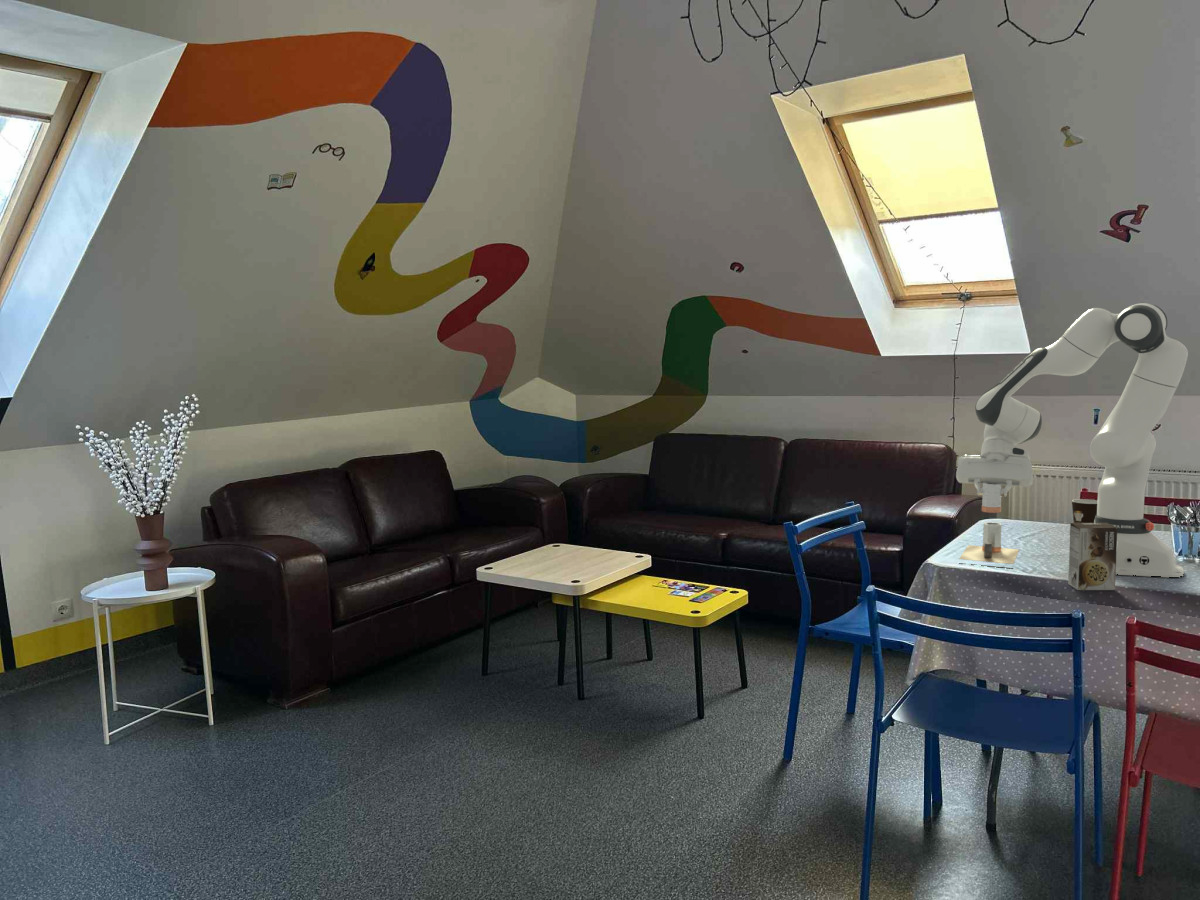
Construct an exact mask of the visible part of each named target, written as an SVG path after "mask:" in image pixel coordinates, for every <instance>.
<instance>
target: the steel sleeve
mask: <svg viewBox="0 0 1200 900" xmlns="http://www.w3.org/2000/svg"><path fill="white" fill-rule="evenodd" d="M982 487H983V495H981V496H982V501H981V504H982V505H981V512H983V513H992V514H995V513H996V514H997V513H1001V512H1002V496H1001V495H1000V492H1001V488H1002V487H1003V485H1002V483H997V482H984V483H983V484H982Z"/></svg>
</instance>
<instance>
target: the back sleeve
mask: <svg viewBox="0 0 1200 900" xmlns="http://www.w3.org/2000/svg"><path fill="white" fill-rule="evenodd" d="M982 532H983V534H982V545H981V546H982V551H984V543H991V544H992V552H993V553H996V552H1001V548H1002V523H1000V522H992V521H991V522H990V521H987V522H983V531H982Z"/></svg>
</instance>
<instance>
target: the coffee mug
mask: <svg viewBox="0 0 1200 900" xmlns="http://www.w3.org/2000/svg"><path fill="white" fill-rule="evenodd" d="M1097 501H1098V500H1095V499H1085V498H1084V499H1083V498H1080V499H1078V498H1077V499H1072V500H1071V507H1072V519H1073V523H1094V519H1095V515H1097Z"/></svg>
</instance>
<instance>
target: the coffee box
mask: <svg viewBox="0 0 1200 900" xmlns="http://www.w3.org/2000/svg"><path fill="white" fill-rule="evenodd" d="M1069 526H1070V527H1069V528H1070V529H1069V531H1070V532H1069V552H1068V553H1069V555H1068V557H1069V558H1068V582H1067V583H1068V585H1070V586H1071V587H1072V588H1073V589H1075V590H1078V591H1116V579H1117V578H1116V577H1117V574H1116V549H1117V527H1114V526H1113V525H1111V524H1108V523H1074V522H1070V525H1069Z"/></svg>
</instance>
